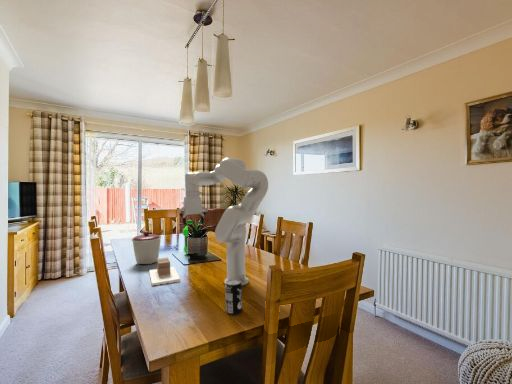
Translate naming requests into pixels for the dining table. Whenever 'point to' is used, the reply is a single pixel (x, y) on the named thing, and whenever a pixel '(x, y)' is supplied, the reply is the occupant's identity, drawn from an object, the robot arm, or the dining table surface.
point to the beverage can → (233, 296)
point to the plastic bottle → (186, 234)
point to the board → (164, 277)
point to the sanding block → (163, 266)
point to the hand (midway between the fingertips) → (193, 224)
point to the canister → (146, 248)
